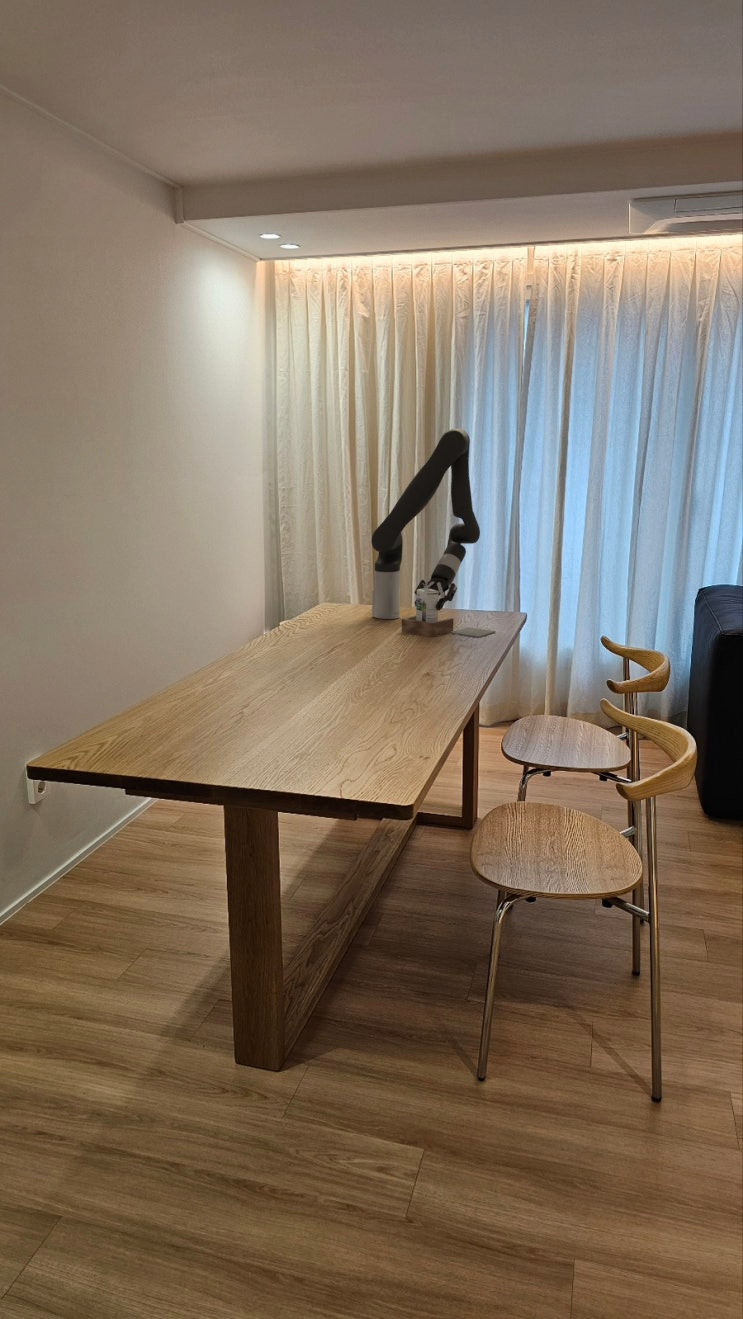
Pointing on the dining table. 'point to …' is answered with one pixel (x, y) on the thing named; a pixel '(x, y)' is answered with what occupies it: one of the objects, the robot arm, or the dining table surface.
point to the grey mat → (473, 632)
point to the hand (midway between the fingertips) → (427, 607)
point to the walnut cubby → (426, 627)
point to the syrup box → (427, 605)
